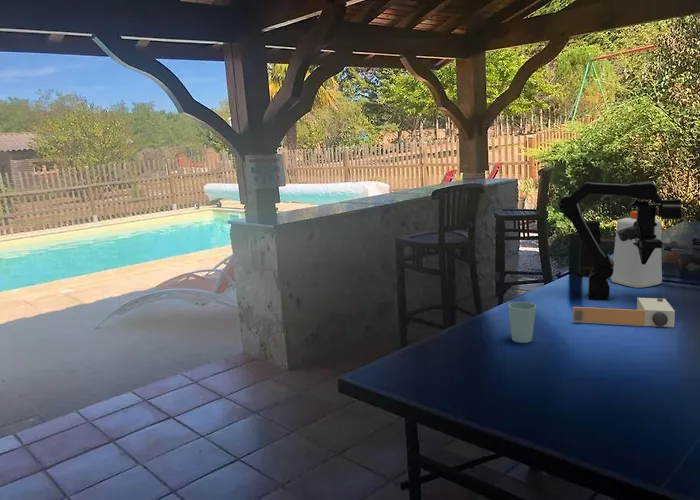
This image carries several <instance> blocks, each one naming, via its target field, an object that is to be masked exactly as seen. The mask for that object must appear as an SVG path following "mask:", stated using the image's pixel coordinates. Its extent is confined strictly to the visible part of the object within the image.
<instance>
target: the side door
mask: <svg viewBox="0 0 700 500" xmlns="http://www.w3.org/2000/svg"><path fill="white" fill-rule="evenodd" d="M572 312H573V314H572V322H575V323H576V322H577V323H589V324H590V323H591V324H608V325H609V324H610V325H627V326H628V325H629V326H643V327H644V320H645V310H637V309H627V308H626V309H624V308H606V307H587V306H586V307H585V306H584V307H583V306H573V310H572Z"/></svg>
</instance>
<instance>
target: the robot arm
mask: <svg viewBox="0 0 700 500" xmlns="http://www.w3.org/2000/svg"><path fill="white" fill-rule="evenodd" d="M590 194H593V195H611V196H612V195H614V196H625V197H630V198H634V199H635V200H634V201H633V202H632V203H630V205H631V207H636V211H637V219H636V221H635V222H634V226H632V227H628V228H625V229H622V230H619V231H617V233H618V235H619V238H620V240H621V241H627V240H628V239H629V240H632V239H636V240H635V243H633V244H634V245H635V246H636V247H637V248H638V250H639V255H640V259H641V264H643V265H645V264H646V263H647V261H648V259H649V257H650V256H651V254H652V253H653V251H654V249H655V248H661V249H663V246H664V245H663V241H662V239H661V240H659V239H658V238H656V235H655V226H657V223H656V222H655V219H657V218H656V216H657V217H660V218H661V220H663V221H664V220H669V221H671V220H672V221H677V220H678V221H681V219H682V212H683V210H682V199H679V198H675V199H662V196H660V195H659V194H658V188H657V185H656V184H654V182H651V181H640V182H633V183H609V182H608V183H605V182H593V181H586V182H585V183H583V184H582V186H580V187H579V188H578V189H576V190H575V191H574V192H573V193H572V194H567V195H565V196H563V197H562V198H561V199H560V200H559V202H558V206H559V207H558V208H559V209H560V211H561V212H562V214H564V216H565V217H566V218H567V219H568V221H570V222H571V223H572V226H573V227H574V229H575V230H576V233H577V235H578V237H579V236H580V238H581V240H582V241H583V243H584V245H585V247H586V249H587V250H588V252H589V254H590V256H591V259H592V263H593V266H594V270H593V271H591V272H590V275H589V276H588V279H587V280H588V281H587V282H588V284H587V293H586V295H587V298H588V300H600V301H601V300H603V301H604V300H605V301H608V300H609V298H610V289H611V286H610V284H609V281H608V279H609V278H610V279H611V276H612V274H613V270H614V261H613V258H611V255H610V253H609V252H608V253H606V254H605V253H604V252H603V250H601V247H600V246H598V244H597V242H596V241H595V239H594V237H593V235H592V233H591V232H590V230H589V228H588V226H587V224H586V223H585V221H586V220H585V219H583V215H582V211H581V207H580V204H579V203H580V202H581V201H582V200H584V199H585V198H586V197H587V196H588V195H590ZM649 202H653V203H649ZM656 212H657V213H656ZM656 214H657V215H656Z"/></svg>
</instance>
